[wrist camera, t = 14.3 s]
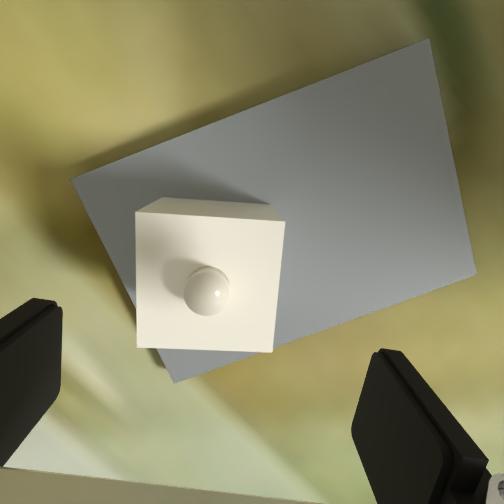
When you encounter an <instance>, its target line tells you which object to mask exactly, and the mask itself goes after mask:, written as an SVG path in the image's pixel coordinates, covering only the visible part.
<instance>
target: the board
mask: <svg viewBox="0 0 504 504" xmlns="http://www.w3.org/2000/svg"><path fill="white" fill-rule="evenodd" d="M70 180H71V182H72V184H73V186H74V188H75V190H76V192H77V194H78V196H79V198H80V200H81V202H82V204H83V206H84V208H85V210H86V212H87V213H88V215H89V217H90V219H91V221H92V223H93V225H94V227H95V229H96V231H97V233H98V235H99V237H100V239H101V241H102V243H103V245H104V247H105V249H106V251H107V253H108V255H109V257H110V259H111V261H112V263H113V265H114V267H115V268H116V270H117V272H118V274H119V276H120V278H121V280H122V282H123V284H124V286H125V288H126V290H127V292H128V294H129V296H130V298H131V300H132V302H133V304H134V306H135V308H136V236H135V212H136V211H138V210H140V209H141V208H143V207H145V206H147V205H149V204H151V203H153V202H154V201H156V200H158V199H160V198H162V197H167V198H182V199H197V200H212V201H226V202H241V203H256V204H271V205H272V206H273V207H274V208H275V210H276V211H277V212H278V213H279V214H280V216H281V217H282V218H283V219H284V220H285V230H284V240H283V250H282V260H281V270H280V280H279V290H278V300H277V310H276V320H275V331H274V341H273V348H275V347H277V346H280V345H283V344H286V343H289V342H291V341H294V340H297V339H300V338H302V337H305V336H308V335H311V334H314V333H316V332H319V331H322V330H325V329H327V328H330V327H333V326H336V325H339V324H341V323H344V322H347V321H350V320H353V319H355V318H358V317H361V316H364V315H366V314H369V313H372V312H375V311H378V310H380V309H383V308H386V307H389V306H391V305H394V304H397V303H400V302H403V301H405V300H408V299H411V298H414V297H416V296H419V295H422V294H425V293H428V292H430V291H433V290H436V289H439V288H442V287H444V286H447V285H450V284H453V283H455V282H458V281H461V280H464V279H467V278H469V277H472V276H475V275H477V272H476V267H475V262H474V258H473V253H472V248H471V243H470V238H469V233H468V228H467V223H466V218H465V213H464V208H463V203H462V198H461V193H460V188H459V183H458V178H457V173H456V168H455V163H454V158H453V153H452V148H451V143H450V138H449V133H448V128H447V123H446V118H445V113H444V109H443V104H442V99H441V94H440V89H439V84H438V79H437V74H436V69H435V64H434V59H433V54H432V49H431V44H430V39H429V38H427V39H425V40H422V41H420V42H417V43H415V44H412V45H410V46H407V47H405V48H402V49H400V50H397V51H394V52H392V53H389V54H387V55H384V56H382V57H379V58H377V59H374V60H372V61H369V62H366V63H364V64H361V65H359V66H356V67H354V68H351V69H349V70H346V71H344V72H341V73H338V74H336V75H333V76H331V77H328V78H326V79H323V80H321V81H318V82H316V83H313V84H310V85H308V86H305V87H303V88H300V89H298V90H295V91H293V92H290V93H288V94H285V95H283V96H280V97H277V98H275V99H272V100H270V101H267V102H265V103H262V104H260V105H257V106H255V107H252V108H249V109H247V110H244V111H242V112H239V113H237V114H234V115H232V116H229V117H227V118H224V119H221V120H219V121H216V122H214V123H211V124H209V125H206V126H204V127H201V128H199V129H196V130H193V131H191V132H188V133H186V134H183V135H181V136H178V137H176V138H173V139H171V140H168V141H166V142H163V143H160V144H158V145H155V146H153V147H150V148H148V149H145V150H143V151H140V152H138V153H135V154H132V155H130V156H127V157H125V158H122V159H120V160H117V161H115V162H112V163H110V164H107V165H104V166H102V167H99V168H97V169H94V170H92V171H89V172H87V173H84V174H82V175H79V176H76V177H74V178H71V179H70ZM156 349H157V351H158V353H159V355H160V357H161V359H162V361H163V363H164V365H165V367H166V369H167V371H168V373H169V374H170V376H171V378H172V380H173V382H174V384H175V383H177V382H180V381H183V380H186V379H188V378H191V377H194V376H197V375H200V374H202V373H205V372H208V371H211V370H213V369H216V368H219V367H222V366H225V365H227V364H230V363H233V362H236V361H238V360H241V359H244V358H247V357H250V356H252V355H255V354H258V353H261V352H245V351H218V350H192V349H165V348H156Z"/></svg>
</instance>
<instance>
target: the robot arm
mask: <svg viewBox="0 0 504 504" xmlns="http://www.w3.org/2000/svg"><path fill="white" fill-rule="evenodd" d="M62 316H63V311H62V308H61V307H58V306H57V303H56V302H55V301H51V300H45V299H38V298H32V299H30V300H29V301H27V302H26V303H24V304H23V305H21V306H20V307H18V308H16V309H15V310H13V311H12V312H10V313H9V314H7V315H6V316H4V317H3V318H1V319H0V504H322V503H314V502H305V501H297V500H288V499H280V498H271V497H263V496H254V495H246V494H237V493H229V492H220V491H212V490H203V489H194V488H186V487H177V486H168V485H160V484H151V483H142V482H133V481H125V480H116V479H107V478H98V477H90V476H81V475H72V474H63V473H54V472H45V471H35V470H26V469H17V468H8V467H3V466H4V464H5V463H6V462H7V461H8V459H9V458H10V457H11V456H12V454H13V453H14V452H15V450H16V449H17V448H18V447H19V445H20V444H21V443H22V442H23V440H24V439H25V438H26V437H27V435H28V434H29V433H30V431H31V430H32V429H33V428H34V426H35V425H36V424H37V423H38V421H39V420H40V419H41V418H42V416H43V415H44V414H45V412H46V411H47V410H48V409H49V407H50V406H51V405H52V404H53V402H54V401H55V400H56V398H57V396H58V394H59V391H60V386H61V352H62ZM351 433H352V438H353V441H354V443H355V446H356V449H357V451H358V454H359V456H360V459H361V462H362V464H363V467H364V470H365V472H366V475H367V477H368V480H369V483H370V485H371V488H372V491H373V493H374V496H375V499H376V501H377V504H504V474H499V473H498V474H495V475H493V476H492V475H491V474H490V473H489V471H488V470H487V469H486V466H487V463H488V461H489V460H488V458H487V457H486V456H485V455H484V453H483V452H482V451H481V450H480V448H479V447H478V446H477V445H476V443H475V442H474V441H473V440H472V439H471V437H470V436H469V435H468V434H467V432H466V431H465V430H464V429H463V427H462V426H461V425H460V424H459V422H458V421H457V420H456V419H455V417H454V416H453V415H452V414H451V412H450V411H449V410H448V409H447V407H446V406H445V405H444V404H443V403H442V401H441V400H440V399H439V398H438V396H437V395H436V394H435V393H434V391H433V390H432V389H431V388H430V386H429V385H428V384H427V383H426V381H425V380H424V379H423V378H422V376H421V375H420V374H419V373H418V371H417V370H416V369H415V368H414V366H413V365H412V364H411V363H410V362H409V360H408V359H407V358H406V357H405V355H404V354H403V353H402V352H401V351H396V350H389V349H383V348H381V349H380V350H379V351H378V353H377V352H375V353H373V355H372V357H371V361H370V364H369V367H368V371H367V374H366V378H365V381H364V385H363V388H362V391H361V395H360V398H359V402H358V405H357V409H356V412H355V415H354V419H353V422H352V428H351Z"/></svg>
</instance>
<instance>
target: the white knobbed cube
mask: <svg viewBox="0 0 504 504" xmlns="http://www.w3.org/2000/svg"><path fill="white" fill-rule="evenodd" d="M284 230H285V220H284V219H283V218H282V217H281V216H280V214H279V213H278V212H277V211H276V210H275V208H274V207H273V206H272V205H271V204H256V203H241V202H226V201H212V200H197V199H182V198H167V197H162V198H160V199H158V200H156V201H154V202H153V203H151V204H149V205H147V206H145V207H143V208H141V209H140V210H138V211H136V212H135V236H136V311H137V347H139V348H165V349H192V350H218V351H245V352H271V353H272V351H273V341H274V331H275V320H276V310H277V300H278V290H279V280H280V270H281V260H282V250H283V240H284Z"/></svg>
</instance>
